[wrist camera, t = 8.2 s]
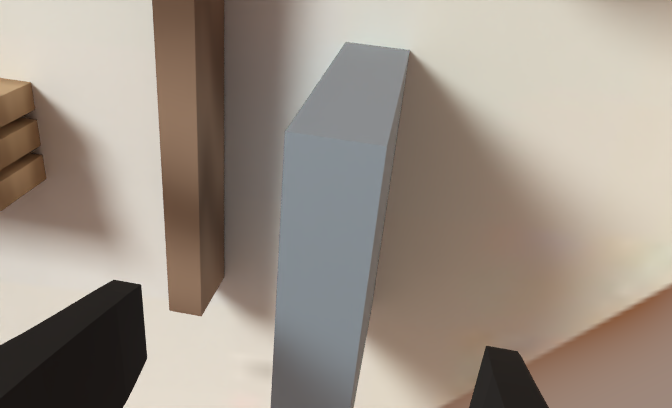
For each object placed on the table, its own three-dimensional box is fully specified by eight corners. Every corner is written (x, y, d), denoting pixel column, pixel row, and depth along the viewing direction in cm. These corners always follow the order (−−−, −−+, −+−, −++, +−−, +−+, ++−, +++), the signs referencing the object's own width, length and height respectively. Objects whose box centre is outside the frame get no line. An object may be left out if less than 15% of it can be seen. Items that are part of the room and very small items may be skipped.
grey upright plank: (409, 50, 18) (387, 146, 11) (371, 306, 23) (338, 486, 16) (345, 41, 19) (285, 131, 12) (321, 298, 23) (267, 472, 16)
